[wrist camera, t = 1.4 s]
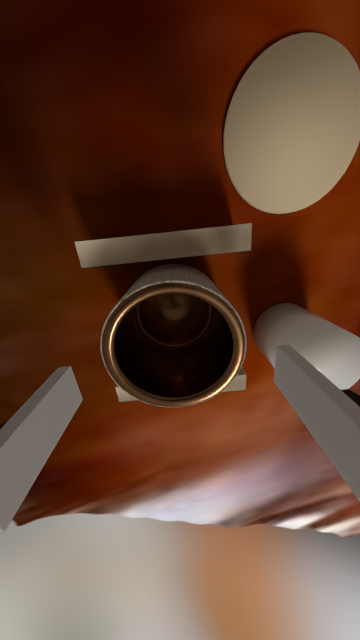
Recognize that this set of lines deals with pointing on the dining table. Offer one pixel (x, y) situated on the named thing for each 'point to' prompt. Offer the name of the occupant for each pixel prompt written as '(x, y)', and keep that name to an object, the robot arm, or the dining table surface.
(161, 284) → the planter
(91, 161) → the dining table surface
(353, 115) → the mat
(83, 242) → the cradle
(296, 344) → the white cylinder
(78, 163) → the dining table surface
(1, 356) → the dining table surface
